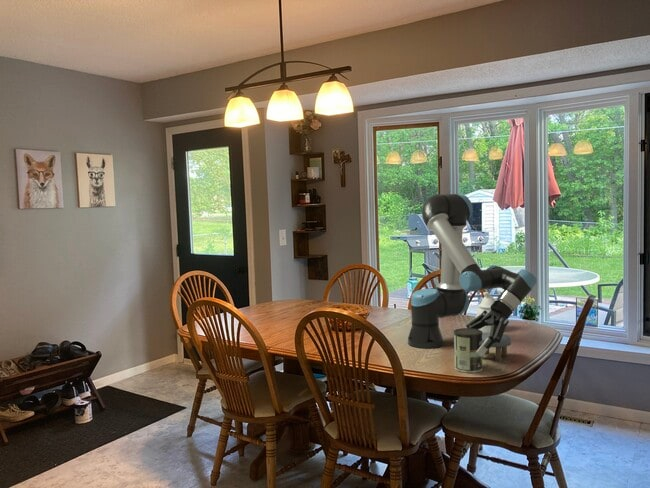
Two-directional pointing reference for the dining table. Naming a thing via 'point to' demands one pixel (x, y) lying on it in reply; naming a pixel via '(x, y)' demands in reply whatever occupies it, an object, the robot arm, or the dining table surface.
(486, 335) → the stool
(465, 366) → the coffee can
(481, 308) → the white tapered piece
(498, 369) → the dining table surface
